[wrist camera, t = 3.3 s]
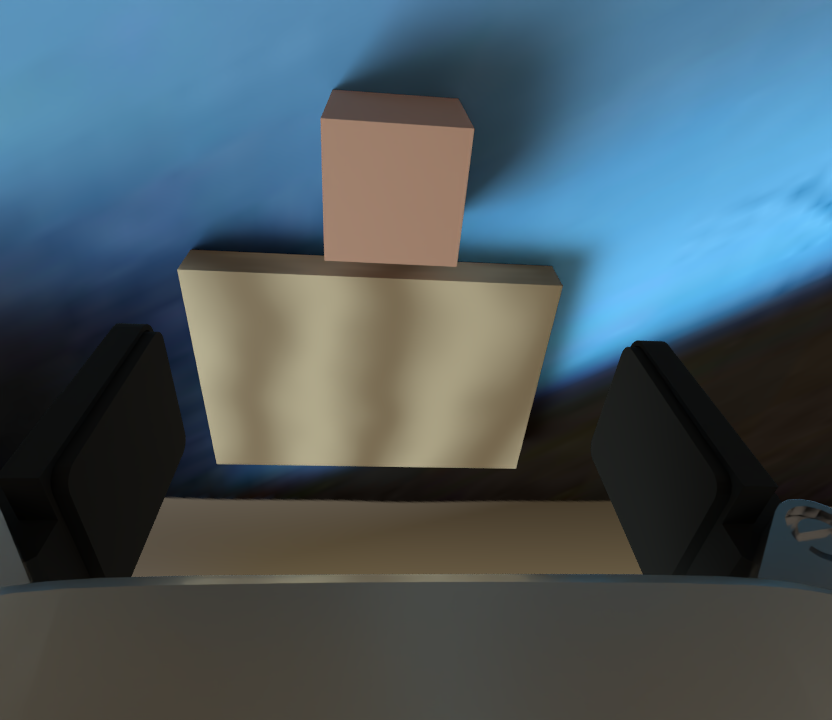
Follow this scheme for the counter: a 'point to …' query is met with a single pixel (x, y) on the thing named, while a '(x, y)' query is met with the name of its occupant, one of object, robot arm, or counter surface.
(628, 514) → the robot arm
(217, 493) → the counter surface
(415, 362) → the chopping board
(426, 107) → the terracotta cube
